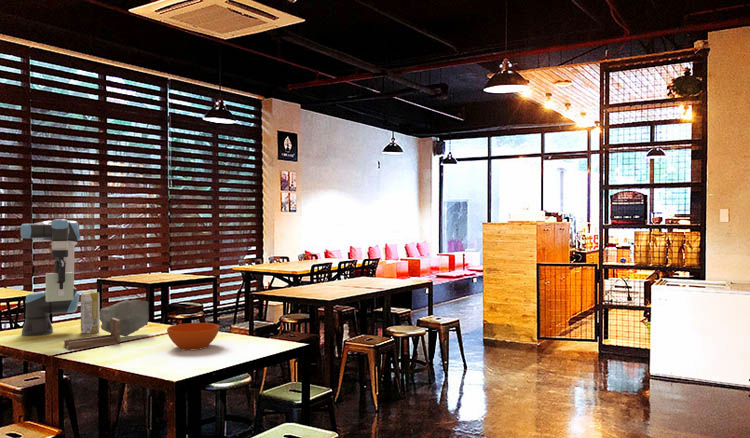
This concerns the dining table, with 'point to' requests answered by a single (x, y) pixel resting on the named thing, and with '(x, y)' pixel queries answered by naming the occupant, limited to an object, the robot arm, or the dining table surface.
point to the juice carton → (90, 312)
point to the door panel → (53, 287)
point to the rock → (126, 316)
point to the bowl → (193, 335)
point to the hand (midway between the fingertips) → (59, 295)
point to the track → (96, 338)
